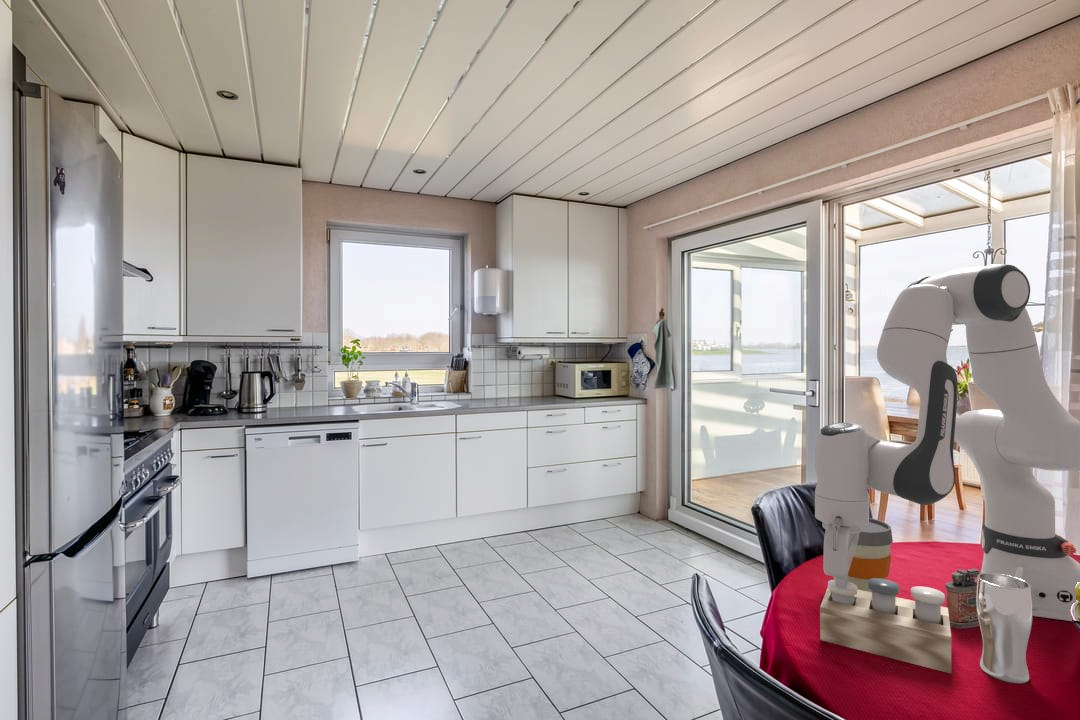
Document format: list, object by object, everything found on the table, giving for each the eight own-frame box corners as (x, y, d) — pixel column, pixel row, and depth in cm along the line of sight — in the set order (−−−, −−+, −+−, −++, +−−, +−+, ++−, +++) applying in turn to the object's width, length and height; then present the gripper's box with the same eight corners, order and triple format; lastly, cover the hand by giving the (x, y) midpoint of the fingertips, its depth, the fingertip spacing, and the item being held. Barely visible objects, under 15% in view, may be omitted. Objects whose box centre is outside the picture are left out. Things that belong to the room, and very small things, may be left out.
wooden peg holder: (948, 640, 98) (947, 607, 98) (951, 673, 88) (951, 636, 88) (829, 613, 109) (829, 583, 109) (820, 640, 99) (820, 607, 99)
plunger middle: (900, 619, 99) (899, 581, 99) (899, 630, 95) (898, 591, 95) (869, 612, 102) (868, 576, 102) (867, 623, 98) (866, 585, 98)
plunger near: (944, 629, 95) (944, 590, 95) (945, 641, 91) (945, 600, 91) (911, 621, 98) (911, 584, 98) (911, 633, 94) (910, 594, 94)
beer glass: (976, 655, 93) (976, 568, 93) (1031, 670, 89) (1031, 578, 89) (976, 674, 88) (975, 582, 88) (1034, 691, 83) (1033, 593, 83)
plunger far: (858, 619, 103) (858, 583, 103) (856, 629, 99) (856, 592, 99) (830, 612, 106) (829, 577, 105) (826, 622, 102) (826, 586, 102)
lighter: (958, 629, 102) (957, 576, 102) (940, 621, 105) (940, 569, 105) (990, 623, 104) (990, 571, 104) (972, 615, 107) (971, 564, 107)
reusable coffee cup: (890, 611, 109) (889, 537, 109) (821, 595, 117) (820, 525, 117) (895, 589, 119) (895, 521, 119) (831, 576, 127) (830, 511, 127)
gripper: (855, 528, 92) (855, 610, 92) (865, 501, 108) (865, 570, 109) (813, 522, 95) (814, 601, 95) (829, 496, 112) (829, 563, 112)
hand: (841, 584), depth 102 cm, fingers closed, pressing on plunger far
